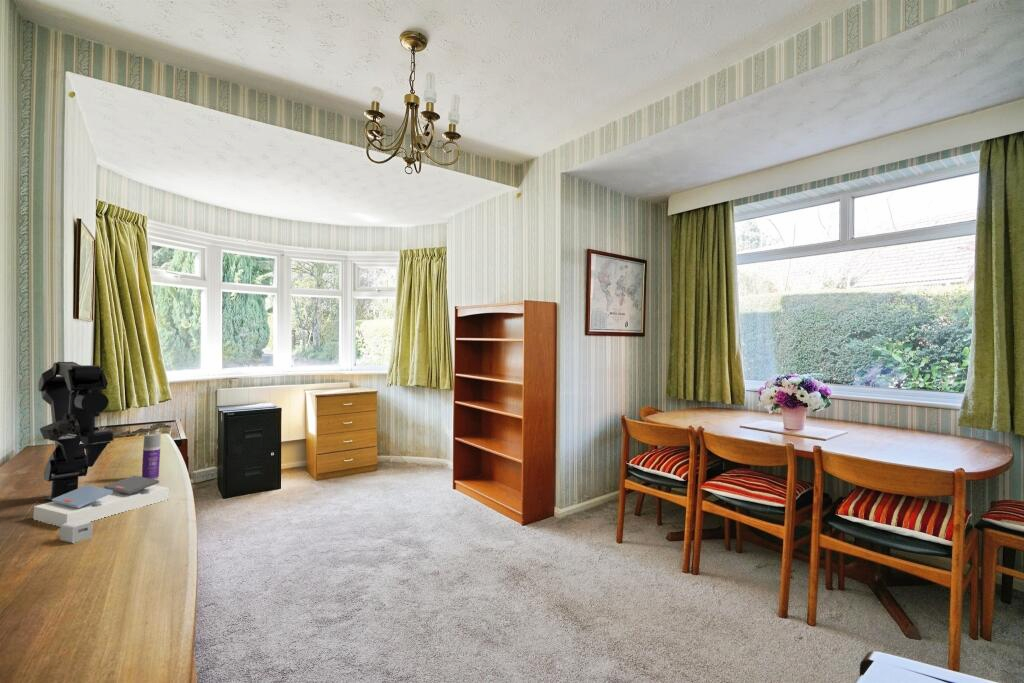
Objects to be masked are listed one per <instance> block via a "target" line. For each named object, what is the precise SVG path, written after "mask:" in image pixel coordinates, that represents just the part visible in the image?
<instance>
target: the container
mask: <svg viewBox="0 0 1024 683" xmlns="http://www.w3.org/2000/svg"><path fill="white" fill-rule="evenodd" d="M143 437H144V438H143V448H142V464H141V465H142V466H141V467H142V468H141V477H144V478H149V479H154V480H157V479H156V478H158V477H160V463H161V462H160V459H161V458H160V457H161V434H160V433H150V434H145V435H144V436H143ZM158 479H159V478H158Z"/></svg>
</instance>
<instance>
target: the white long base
mask: <svg viewBox="0 0 1024 683" xmlns="http://www.w3.org/2000/svg"><path fill="white" fill-rule="evenodd" d="M167 499H169V500H170V488H169V487H166V486H160V485H157V484H155V485H152V486H150V487H147V488H144V490H143V491H136V492H134V493H131V494H127V493H122V492H118V491H113V493H112V494H109V495H107V496H105V497H103V498H100V499H98V500H96V502H94V503H92V504H91V503H89V504H87V505H84V506H82V507H80V508H76V507H72V506H67V505H63V504H59V503H55V502H52V501H49V502H46V503H42V504H38V505H33V517H32V518H33V519H34V520H33V521H36V520H38V521H37V522H40V521H41V522H40V523H44V524H49V525H51V524H52V526H55V525H56V526H55V527H59V528H61V526H62V525H63V524H64V523H68V522H71V521H75V520H82V521H87V522H91V521H92V522H94V520H95V521H98V519H99V520H101V518H102V519H105V518H104V517H106V518H109V517H112V516H111V515H113V516H115V515H114V514H116V515H119V514H118V513H120V514H122V513H121V512H124V513H126V512H125V511H127V512H129V511H128V510H131V511H133V510H132V509H134V510H137V509H136V508H138V509H141V508H144V507H143V506H145V507H147V506H146V505H149V506H151V505H150V504H152V505H155V504H154V503H156V504H158V503H157V502H159V503H161V502H160V501H163V502H165V501H164V500H166V501H168V500H167ZM140 507H141V508H140ZM108 516H109V517H108Z"/></svg>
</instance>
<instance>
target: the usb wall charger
mask: <svg viewBox="0 0 1024 683" xmlns="http://www.w3.org/2000/svg"><path fill="white" fill-rule="evenodd" d="M93 525H94V523H93V521H92V522H87V521H82V520H75V521H71V522H68V523H64V524H63V525H62V526H61V527H60V528H57V532H59V540H60V541H61V540H62V542H66V543H70V542H71V543H70V544H76V543H75V542H78V541H81V540H84V541H86V540H85V539H87V540H90V539H91V538H92V537H93V530H94V529H93V528H94V526H93ZM89 538H90V539H89ZM81 542H82V541H81ZM78 543H79V542H78Z"/></svg>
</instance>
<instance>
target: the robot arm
mask: <svg viewBox="0 0 1024 683" xmlns="http://www.w3.org/2000/svg"><path fill="white" fill-rule="evenodd" d="M108 384H109V383H108V379H107V376H106V373H105V372H104V370H103V369H102V368H101V366H100V365H96V364H95V365H93V364H92V365H84V364H83V365H82V364H78V363H77V362H74V361H57V362H54V363H53V364H52V366H51V367H50V368H49V369H47V370H45V371H44V372H42V373H41V376H40V378H39V380H38V386H37V387H38V391H39V392H40V393H41V399H42V400H43V401H45V402H46V403H47V404H49V406H50V414H51V421H52V423H49V424H47V425H44V426H42V427H40V428H39V432H41V435H42V436H41V437H42V438H43V440H49V441H53V442H54V444H55V445H54V446H55V449H54V450H53V451H52V453H51V455H50V456H49V458H48V461H47V463H46V465H45V467H44V470H43V479H44V480H45V481H46V482H51V489H50V492H51V493H50V496H46V497H44V500H45V501H49V502H52V499H54V498H56V497H58V496H61V495H63V494H66V493H68V492H71V491H73V490H76V489H78V488H79V478H80V477H86V476H87V474H88V471H89V470H88V469H89V468H91V467H93V466H94V465H95V463H96V462H97V461H98V459H99V457H100V456H101V454H102V452H103V451H104V450H105V449H106V447H107V446H108V444H111V442H113V441H114V440H115V439H114V438H115V433H114V432H113V431H111V430H106V429H100V426H96V418H97V417H100V413H101V412H103V411H104V410H105V409H106V408H107V407H108V405H109V398H108V396H107V395H106V394H104V393H102V392H101V390H103V391H104V390H107V387H108Z"/></svg>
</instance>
